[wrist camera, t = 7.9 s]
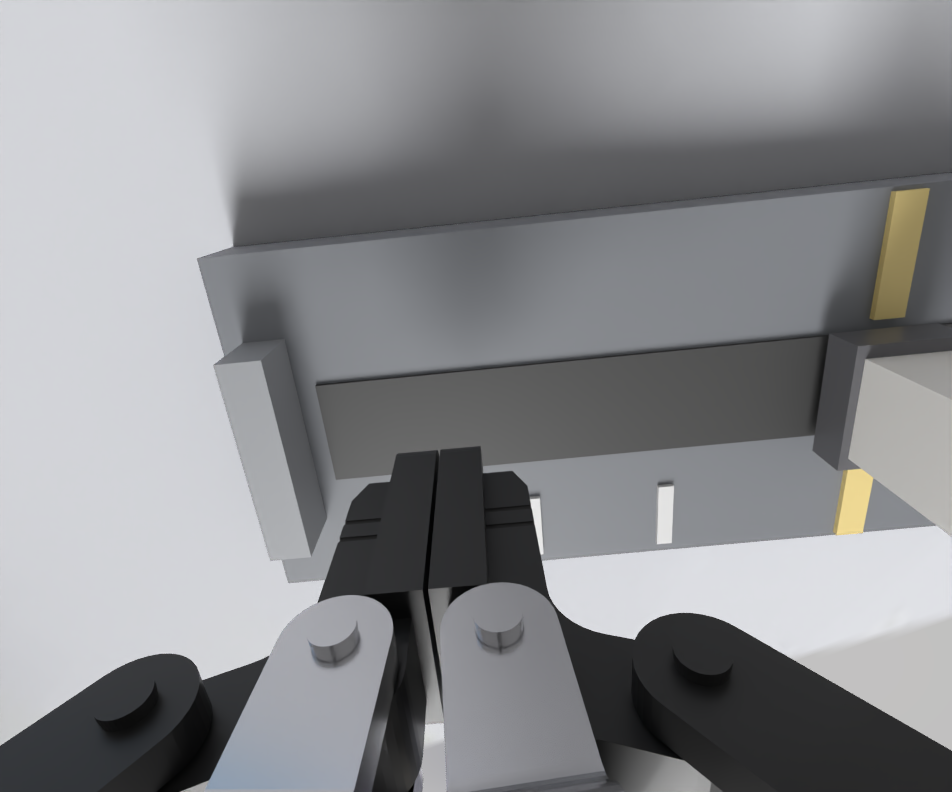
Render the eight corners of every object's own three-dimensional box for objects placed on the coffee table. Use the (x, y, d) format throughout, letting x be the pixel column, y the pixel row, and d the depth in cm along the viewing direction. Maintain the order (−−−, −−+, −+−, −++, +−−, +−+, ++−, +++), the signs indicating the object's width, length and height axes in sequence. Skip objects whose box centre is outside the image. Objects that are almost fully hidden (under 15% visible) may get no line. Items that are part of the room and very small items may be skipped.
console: (232, 247, 14) (159, 270, 11) (1076, 159, 14) (1273, 156, 10) (307, 539, 18) (269, 625, 14) (986, 477, 17) (1113, 552, 14)
